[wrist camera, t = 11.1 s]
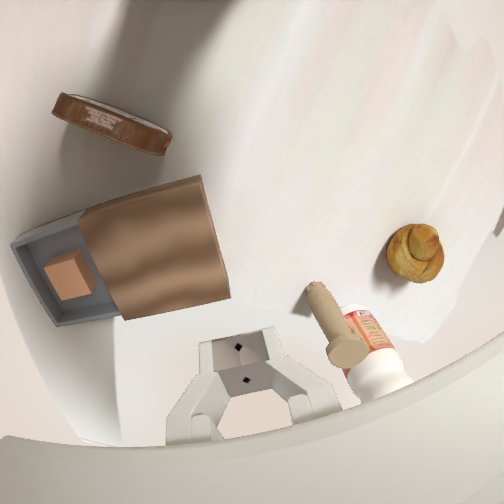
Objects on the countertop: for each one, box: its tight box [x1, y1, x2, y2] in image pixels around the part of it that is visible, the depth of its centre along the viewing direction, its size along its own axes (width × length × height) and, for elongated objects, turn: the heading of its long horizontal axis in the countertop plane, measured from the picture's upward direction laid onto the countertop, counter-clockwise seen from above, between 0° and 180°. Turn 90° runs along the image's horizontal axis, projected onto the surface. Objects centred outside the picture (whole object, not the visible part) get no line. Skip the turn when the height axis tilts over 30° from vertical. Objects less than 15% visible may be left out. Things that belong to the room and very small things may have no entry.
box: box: [10, 208, 121, 327], centre depth 38 cm, size 16×14×4 cm
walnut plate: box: [77, 175, 231, 321], centre depth 38 cm, size 16×16×5 cm
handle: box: [306, 282, 368, 368], centre depth 41 cm, size 5×6×15 cm
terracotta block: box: [44, 249, 97, 300], centre depth 38 cm, size 6×6×3 cm
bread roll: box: [387, 224, 444, 283], centre depth 44 cm, size 13×10×8 cm
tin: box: [52, 92, 172, 156], centre depth 27 cm, size 15×3×8 cm, turn 61°
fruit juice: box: [340, 303, 414, 404], centre depth 41 cm, size 9×9×28 cm
